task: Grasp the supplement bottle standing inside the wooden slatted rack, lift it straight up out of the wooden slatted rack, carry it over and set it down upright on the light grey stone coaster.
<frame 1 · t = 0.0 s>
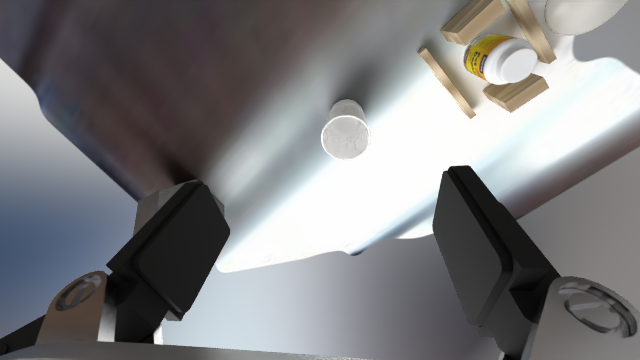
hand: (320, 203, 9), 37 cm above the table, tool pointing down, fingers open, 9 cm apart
supplement bottle: (480, 54, 37), on the table
white cup: (346, 116, 45), on the table
wooden slatted rack: (481, 54, 37), on the table
planter: (203, 198, 62), on the table
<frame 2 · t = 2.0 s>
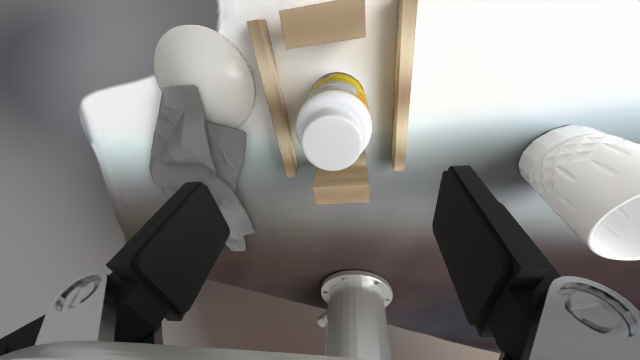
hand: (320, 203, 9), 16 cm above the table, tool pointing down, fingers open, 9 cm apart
supplement bottle: (337, 100, 23), on the table
white cup: (553, 154, 24), on the table
cloth: (204, 182, 31), on the table, touching coaster
wooden slatted rack: (337, 100, 23), on the table
coaster: (207, 83, 23), on the table
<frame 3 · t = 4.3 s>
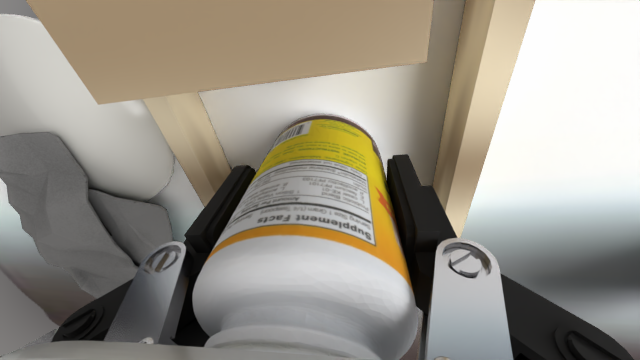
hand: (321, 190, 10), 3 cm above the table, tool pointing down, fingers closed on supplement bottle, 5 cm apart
supplement bottle: (326, 158, 12), on the table, touching gripper
cloth: (126, 262, 20), on the table, touching coaster
wooden slatted rack: (326, 161, 12), on the table
coaster: (80, 128, 12), on the table
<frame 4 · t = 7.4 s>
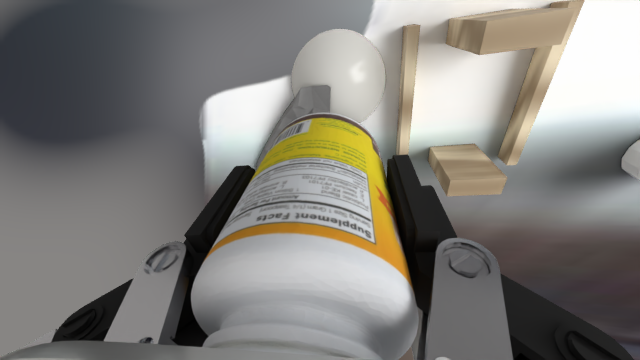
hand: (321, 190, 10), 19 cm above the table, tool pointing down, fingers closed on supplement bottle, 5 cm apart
supplement bottle: (326, 157, 12), point 16 cm above the table, touching gripper
cloth: (304, 177, 33), on the table, touching coaster
wooden slatted rack: (461, 99, 25), on the table
coaster: (337, 83, 25), on the table
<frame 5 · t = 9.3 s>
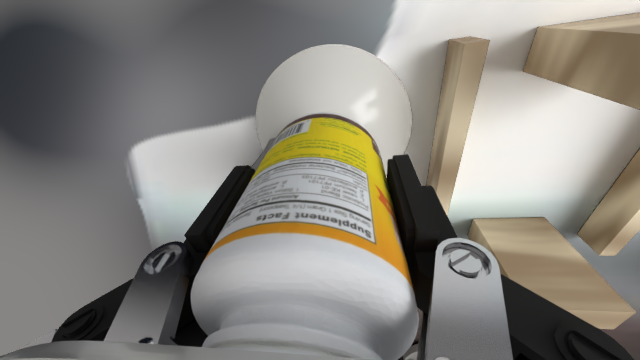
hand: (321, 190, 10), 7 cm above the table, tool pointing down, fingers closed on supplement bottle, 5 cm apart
supplement bottle: (326, 157, 12), point 4 cm above the table, touching gripper
wooden slatted rack: (535, 157, 15), on the table
coaster: (331, 130, 15), on the table
when the fingers open (4 cm above the table, at t = 10.7 s): supplement bottle stays where it is, resting on cloth, coaster.
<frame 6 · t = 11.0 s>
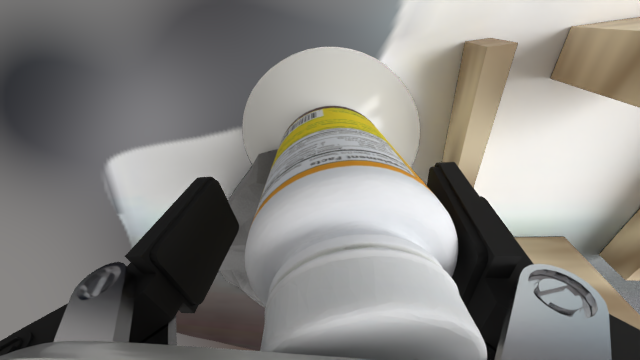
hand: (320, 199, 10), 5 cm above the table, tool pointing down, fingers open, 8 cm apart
supplement bottle: (330, 151, 13), point 1 cm above the table, touching cloth, coaster
cloth: (282, 264, 21), on the table, touching supplement bottle, coaster
wooden slatted rack: (558, 173, 13), on the table
coaster: (328, 143, 14), on the table
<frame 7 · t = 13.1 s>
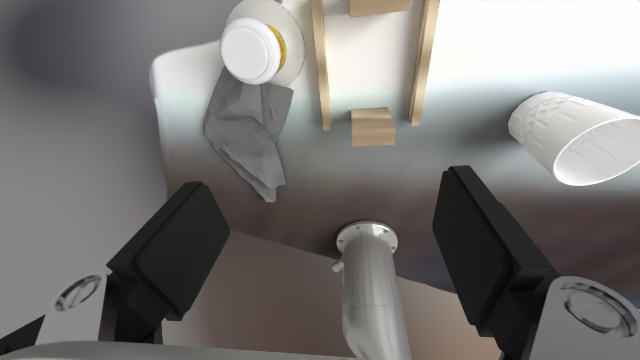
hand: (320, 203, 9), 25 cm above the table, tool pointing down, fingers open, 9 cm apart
supplement bottle: (264, 50, 28), point 1 cm above the table, touching cloth, coaster
white cup: (535, 115, 31), on the table
cloth: (248, 137, 37), on the table, touching supplement bottle, coaster
wooden slatted rack: (370, 65, 29), on the table
coaster: (265, 48, 29), on the table
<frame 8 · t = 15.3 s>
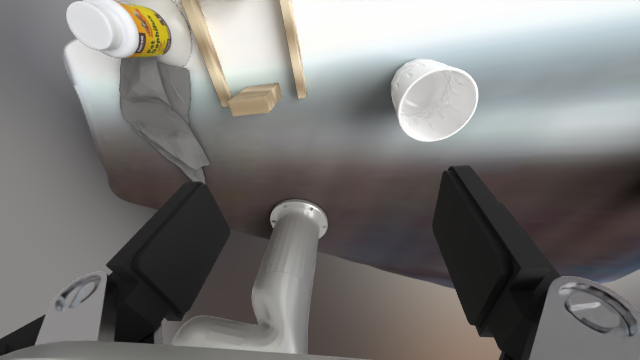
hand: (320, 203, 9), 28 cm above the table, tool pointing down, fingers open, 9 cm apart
supplement bottle: (153, 32, 31), point 1 cm above the table, touching cloth, coaster
white cup: (414, 84, 33), on the table
cloth: (164, 118, 39), on the table, touching supplement bottle, coaster
wooden slatted rack: (251, 43, 31), on the table
coaster: (155, 31, 32), on the table
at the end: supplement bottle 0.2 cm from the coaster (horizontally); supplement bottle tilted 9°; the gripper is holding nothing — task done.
